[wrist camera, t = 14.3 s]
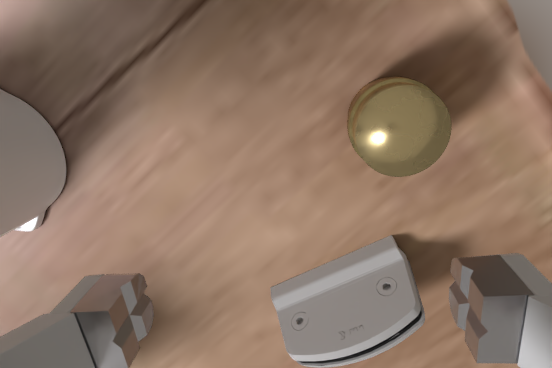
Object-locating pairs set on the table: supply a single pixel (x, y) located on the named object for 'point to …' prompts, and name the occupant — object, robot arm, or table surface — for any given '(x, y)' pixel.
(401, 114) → the cylinder
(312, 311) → the grey bevelled device
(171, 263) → the table surface
